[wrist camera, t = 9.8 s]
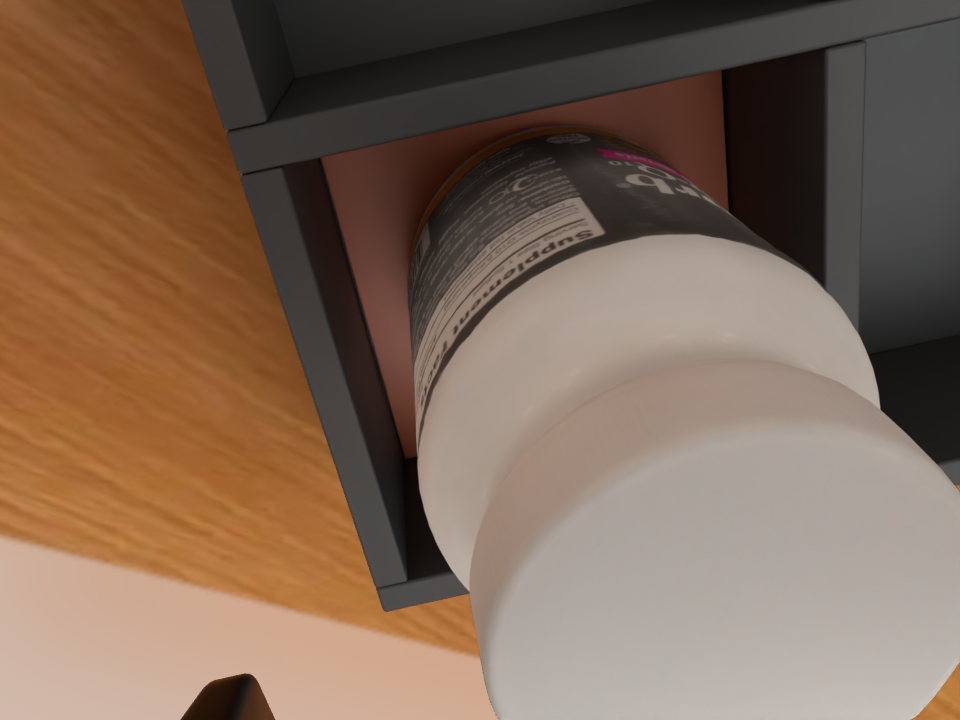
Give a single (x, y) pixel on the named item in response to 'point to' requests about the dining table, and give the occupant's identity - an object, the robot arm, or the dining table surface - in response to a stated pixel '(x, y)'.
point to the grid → (604, 105)
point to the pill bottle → (664, 454)
